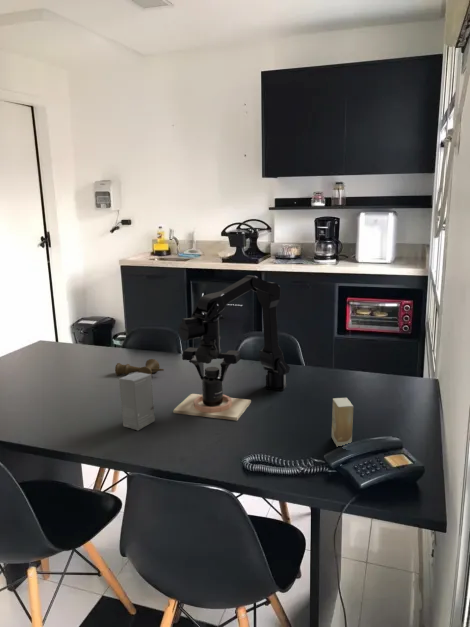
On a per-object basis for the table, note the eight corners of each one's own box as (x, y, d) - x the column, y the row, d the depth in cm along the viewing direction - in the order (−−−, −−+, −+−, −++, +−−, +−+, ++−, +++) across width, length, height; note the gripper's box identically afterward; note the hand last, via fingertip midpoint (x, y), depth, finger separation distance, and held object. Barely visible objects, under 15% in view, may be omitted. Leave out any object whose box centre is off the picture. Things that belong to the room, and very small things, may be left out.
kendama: (122, 371, 209) (168, 372, 205) (112, 380, 200) (160, 381, 196) (120, 358, 207) (167, 358, 204) (110, 366, 198) (159, 366, 194)
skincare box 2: (331, 437, 146) (331, 397, 144) (345, 436, 147) (346, 396, 144) (337, 447, 140) (338, 406, 137) (352, 446, 140) (353, 405, 138)
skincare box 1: (138, 431, 153) (134, 382, 149) (120, 426, 156) (117, 378, 153) (156, 421, 160) (153, 373, 156) (139, 416, 163) (136, 370, 160)
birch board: (250, 402, 173) (250, 399, 172) (237, 420, 159) (237, 417, 159) (191, 396, 179) (191, 393, 179) (173, 412, 166) (173, 410, 165)
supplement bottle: (220, 407, 165) (219, 372, 162) (200, 406, 166) (199, 371, 164) (224, 399, 172) (224, 366, 169) (205, 398, 173) (204, 364, 170)
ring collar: (236, 399, 173) (236, 395, 172) (224, 414, 161) (223, 409, 161) (202, 396, 177) (202, 392, 176) (188, 410, 165) (188, 405, 165)
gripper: (173, 339, 159) (176, 386, 163) (229, 343, 153) (231, 391, 157) (187, 330, 169) (189, 374, 173) (240, 333, 164) (241, 379, 167)
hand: (212, 380), depth 167 cm, fingers closed on supplement bottle, 7 cm apart
